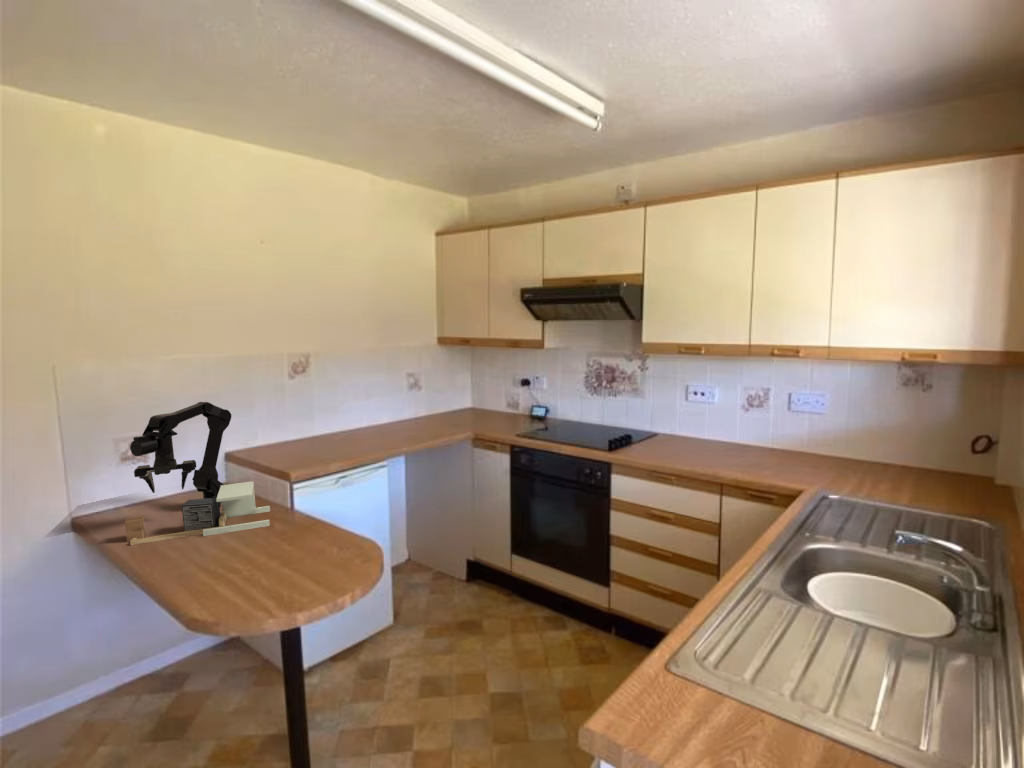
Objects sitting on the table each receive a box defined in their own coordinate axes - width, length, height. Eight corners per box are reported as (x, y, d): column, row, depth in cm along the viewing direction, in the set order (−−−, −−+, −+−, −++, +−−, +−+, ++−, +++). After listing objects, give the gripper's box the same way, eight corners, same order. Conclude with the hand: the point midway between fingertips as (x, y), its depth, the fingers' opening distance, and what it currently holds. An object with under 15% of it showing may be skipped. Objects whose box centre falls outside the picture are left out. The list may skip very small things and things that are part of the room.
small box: (222, 524, 200) (219, 496, 199) (215, 531, 194) (212, 502, 192) (191, 526, 198) (188, 498, 197) (183, 533, 192) (180, 505, 191)
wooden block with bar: (132, 533, 193) (130, 514, 192) (226, 519, 204) (224, 501, 203) (124, 546, 182) (121, 526, 181) (223, 530, 194) (221, 511, 193)
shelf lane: (209, 519, 205) (205, 487, 203) (270, 510, 213) (267, 479, 211) (203, 536, 189) (199, 501, 188) (269, 525, 197) (266, 492, 196)
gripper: (127, 457, 188) (133, 501, 191) (190, 451, 196) (194, 493, 198) (135, 450, 199) (140, 492, 201) (194, 444, 206) (198, 484, 208)
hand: (168, 490), depth 201 cm, fingers open, 9 cm apart
